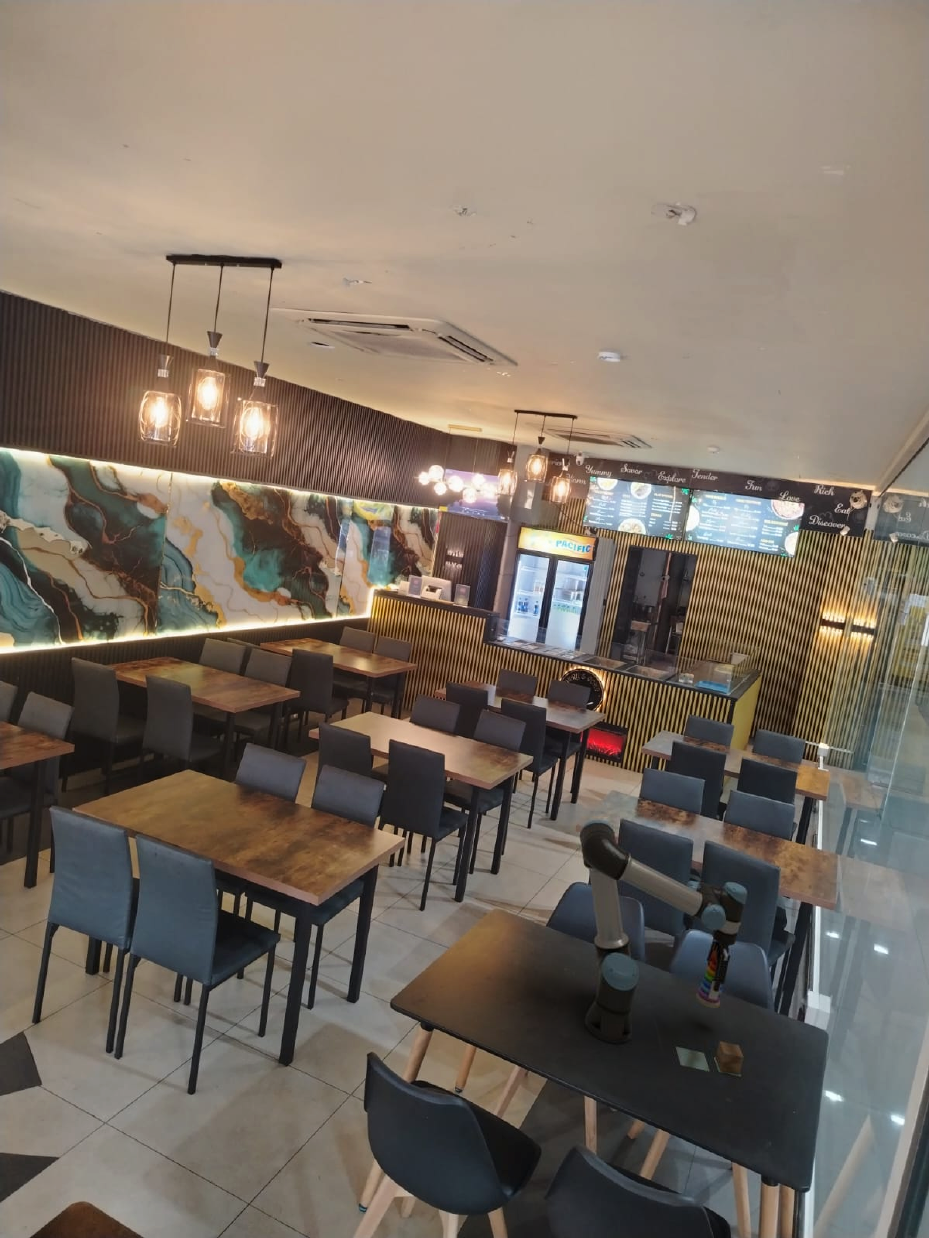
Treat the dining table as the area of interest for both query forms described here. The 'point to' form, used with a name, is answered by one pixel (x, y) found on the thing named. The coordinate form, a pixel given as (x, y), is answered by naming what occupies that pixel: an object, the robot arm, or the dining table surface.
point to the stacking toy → (709, 986)
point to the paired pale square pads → (695, 1060)
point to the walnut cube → (729, 1058)
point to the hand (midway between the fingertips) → (710, 991)
